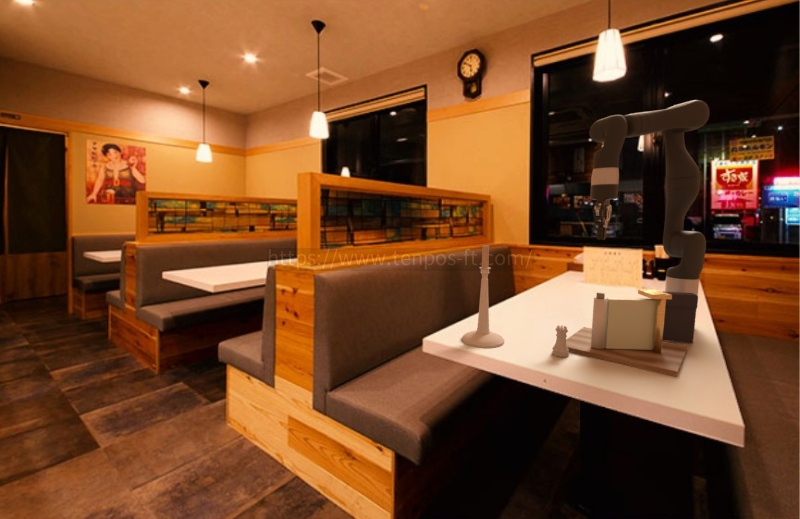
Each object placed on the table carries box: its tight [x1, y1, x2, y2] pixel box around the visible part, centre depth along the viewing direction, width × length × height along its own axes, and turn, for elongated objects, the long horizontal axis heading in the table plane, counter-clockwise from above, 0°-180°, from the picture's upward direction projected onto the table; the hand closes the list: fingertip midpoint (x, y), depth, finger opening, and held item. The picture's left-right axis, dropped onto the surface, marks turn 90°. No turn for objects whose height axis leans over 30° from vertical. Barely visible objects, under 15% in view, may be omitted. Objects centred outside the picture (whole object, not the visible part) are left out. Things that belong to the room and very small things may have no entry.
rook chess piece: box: [551, 325, 570, 358], centre depth 105 cm, size 4×4×8 cm
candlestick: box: [461, 244, 505, 349], centre depth 115 cm, size 13×13×30 cm
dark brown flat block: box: [662, 290, 699, 344], centre depth 117 cm, size 11×4×15 cm, turn 71°
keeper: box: [637, 288, 672, 354], centre depth 106 cm, size 7×5×18 cm
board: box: [566, 326, 689, 377], centre depth 109 cm, size 24×28×1 cm
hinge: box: [591, 292, 657, 350], centre depth 106 cm, size 18×3×16 cm, turn 85°
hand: (600, 239), depth 120 cm, fingers closed
